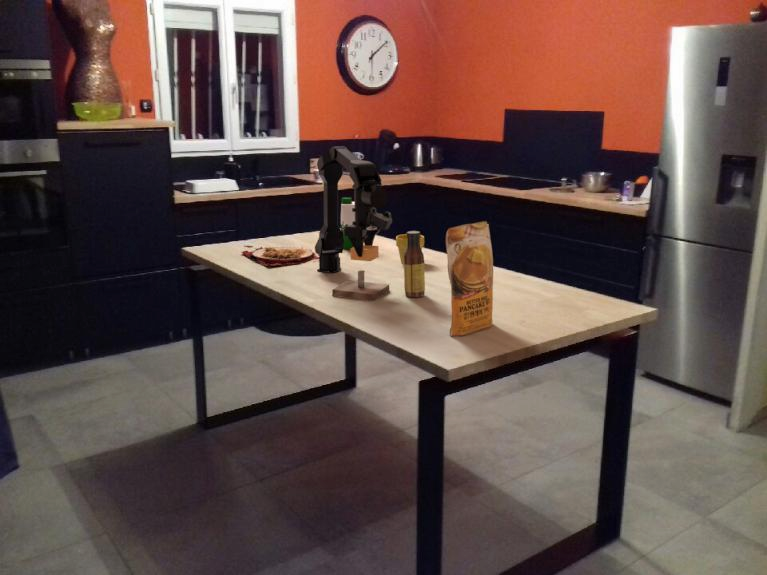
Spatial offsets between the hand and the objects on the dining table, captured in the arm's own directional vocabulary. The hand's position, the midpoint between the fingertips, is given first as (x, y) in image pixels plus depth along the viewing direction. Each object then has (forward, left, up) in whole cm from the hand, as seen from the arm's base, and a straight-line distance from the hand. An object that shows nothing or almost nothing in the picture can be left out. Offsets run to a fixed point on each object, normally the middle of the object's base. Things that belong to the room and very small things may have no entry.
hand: (364, 254), depth 217 cm
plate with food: (-47, +30, -12) cm, 57 cm away
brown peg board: (0, -3, -12) cm, 12 cm away
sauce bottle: (+16, +1, -12) cm, 20 cm away
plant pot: (0, +41, -12) cm, 42 cm away
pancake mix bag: (+40, -23, -12) cm, 48 cm away
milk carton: (-30, +56, -12) cm, 64 cm away
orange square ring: (0, 0, -1) cm, 1 cm away
